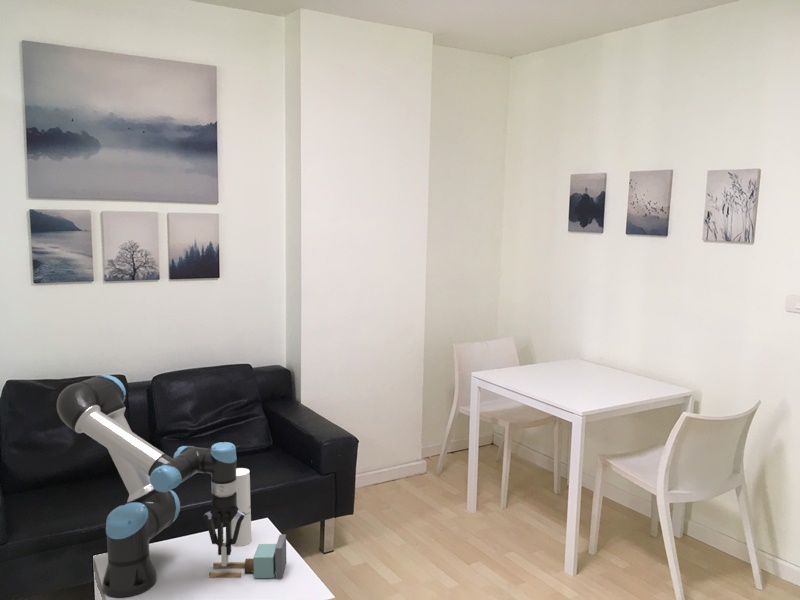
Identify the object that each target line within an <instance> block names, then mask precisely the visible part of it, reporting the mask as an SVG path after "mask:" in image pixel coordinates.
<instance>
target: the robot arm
mask: <svg viewBox="0 0 800 600" xmlns="http://www.w3.org/2000/svg"><path fill="white" fill-rule="evenodd" d="M126 393H127V391H126V388H125V386H124V384H123V382H121V380H120V379H119V378H117V377H115V376H114V375H113V376H112V375H110V374H102V375H101V374H100V375H95V376H94V377H93V376H92V377H90V378H88V379H87V378H86V379H85V380H82V381H79V382H75V383H72V384H69V385H67V386H66V387H65V388H64V389H63V390H61V392H60V393H59V395H58V397H57V401H56V411H57V414H58V416H59V418H60V420H61V421H62V422H63V423H64V424H65V425H66V426H67V427H68V428H69V429H71V430H73V431H74V432H75V433H77V434H82V433H84V434H86V435H87V436H89V437H90V438H91V439H92V440H94V441H96V442H97V443H98V444H100V445H102V446H104V447H105V448H106V449H107V451H108V453H109V455H110V457H111V459H112V461H113V463H114V465H115V467H116V469H117V471H118V474H119V476H120V478H121V480H122V481H123V484H124V486H125V488H126V490H127V492H128V494H129V495H128V498H127V503H125V504H124V505H122V504H121V505H119V506H117V507H116V508H114V509H113V510H111V511H110V512H109V514H108V515H107V517H106V521H105V522H106V523H105V524H106V525H105V534H106V546H107V547H106V548H107V549H106V550H107V562H108V563H107V566H106V570H105V573H104V576H103V580H102V589H103V590H102V591H103V593H104V594H105V595H107V596H109V597H111V598H112V597H113V598H127V597H132V596H137V595H139V594H142V593H145V592H146V591H148V590H149V589H151V588H152V587H153V586H154V585H155V584H156V582H157V579H158V578H157V569H156V567H155V565H154V563H153V561H152V558H151V556H150V540H152V539H153V538H155V537H156V536H157V535H158V534H159V533H161V532H162V531H163V530H164V529H167V528H168V527H170V526H171V525H172V524H173V523H174V522H175V520H176V519H177V518H178V516H179V515H180V514H179V513H180V510H181V501H180V499H179V496H178V495H177V493H176V492H175V491H174V490H173V489H176V488H177V487H178V486H179V485H180V484H182V483H183V482H185V481H186V480H189V479H190V478H191V477H193V476H194V475H195V474H197V473H201V474H209V475H210V477H211V479H210V480H211V481H210V482H211V507H210V510H209V511H206V512H205V513H204V515H203V516H202V518H203V520H204V521H205V522H206V525H207V530H208V533H209V537H210V541H211V544H212V545H216V546H217V554H218V556H221V559H220V560H221V565H222V566H227V564H228V562H229V556H230V555H231V554H232V546H233V545H232V544H235V543H236V541H237V538H238V534H239V530H240V526H241V522H242V520H243V519H244V517H245V513H244V512H243V513H241V512H240V511H238V507H237V493H236V490H237V485H236V469H237V448H236V446H235V444H234V443H232V442H227V441H224V442H221V441H220V442H216V443H213V444H212V445H211V448H205V447H198V446H194V445H188V446H187V445H182V446H180V447H178V448H177V450H176V451H175V452H174V454H173V458H172V457H171V456H169V455H168V454H166V453H164V452H163V451H161V449H159V448H157V447H156V446H153V445H152V444H151V443H149V442H148V441H146V440H145V439H144V438H142V437H140V436H139V435H137V434H136V433H135V432H133V431H132V429H131V427H130V425H129V423H128V421H127V419H126V417H125V412H126V405H125V400H126V395H127V394H126ZM235 515H237V519H238V521H237V523H236V527H235V531H234V535H233V539H232V529H231V522H232V519H233V518H234V517H235ZM213 518H214V520H215V521H216V526H217V531H216V528H215V524H214V520H213ZM224 523H225V539H224ZM224 541H225V542H224Z"/></svg>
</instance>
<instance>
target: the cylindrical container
mask: <svg viewBox="0 0 800 600" xmlns="http://www.w3.org/2000/svg"><path fill="white" fill-rule="evenodd" d="M250 476H251V475H250V469H249V468H246V467H245V468H244V467H236V485H237V490H236V493H237V507H238V511H240V512H241V513H243V512H244V513H245V517H244V519H243V520H242V522H241V526H240V530H239V534H238V538H237V541H236V543H235V544H232V545H231V546H233V547H244V546H247V545H249V544H250V543H252V514H251V511H252V509H251V507H252V506H251V477H250ZM237 521H238V519H237V515H235V517H234V518H233V519H232V522H231V529H232V539H233V535H234V531H235V527H236V523H237Z"/></svg>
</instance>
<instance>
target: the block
mask: <svg viewBox="0 0 800 600" xmlns="http://www.w3.org/2000/svg"><path fill="white" fill-rule="evenodd" d="M276 544H277V543H258V544H257V547H256V550H255V553H254V555H253V558H252V559H254V572H253V579H273V578H275V575H276V565H275V547H276Z"/></svg>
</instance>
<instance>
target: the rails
mask: <svg viewBox="0 0 800 600" xmlns="http://www.w3.org/2000/svg"><path fill="white" fill-rule="evenodd" d="M212 565H213V566H212V567H213V569H244V565H245V561H233V562H232V561H231V562H229V561H228V564H227V566H222V565H221V562H218V561H217V562H213V563H212ZM207 575H208V579H211V578H212V579H214V578H216V579H217V578H220V579H221V578H222V579H223V578H224V579H225V578H242V571H239V570H238V571H208V574H207Z"/></svg>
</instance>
